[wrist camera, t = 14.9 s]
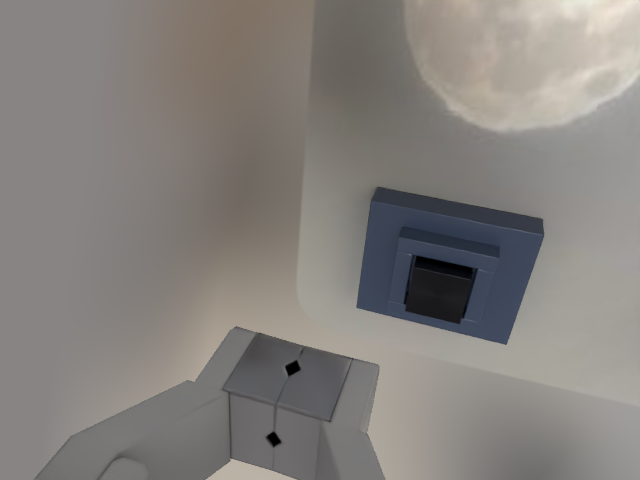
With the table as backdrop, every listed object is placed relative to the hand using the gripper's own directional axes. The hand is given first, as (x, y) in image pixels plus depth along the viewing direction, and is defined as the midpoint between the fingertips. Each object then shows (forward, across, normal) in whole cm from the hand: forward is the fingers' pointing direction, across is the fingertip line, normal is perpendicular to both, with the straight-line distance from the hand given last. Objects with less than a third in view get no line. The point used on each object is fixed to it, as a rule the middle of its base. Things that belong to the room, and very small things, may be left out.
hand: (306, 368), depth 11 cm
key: (+26, -3, +15) cm, 30 cm away
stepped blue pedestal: (+29, -3, +15) cm, 33 cm away
